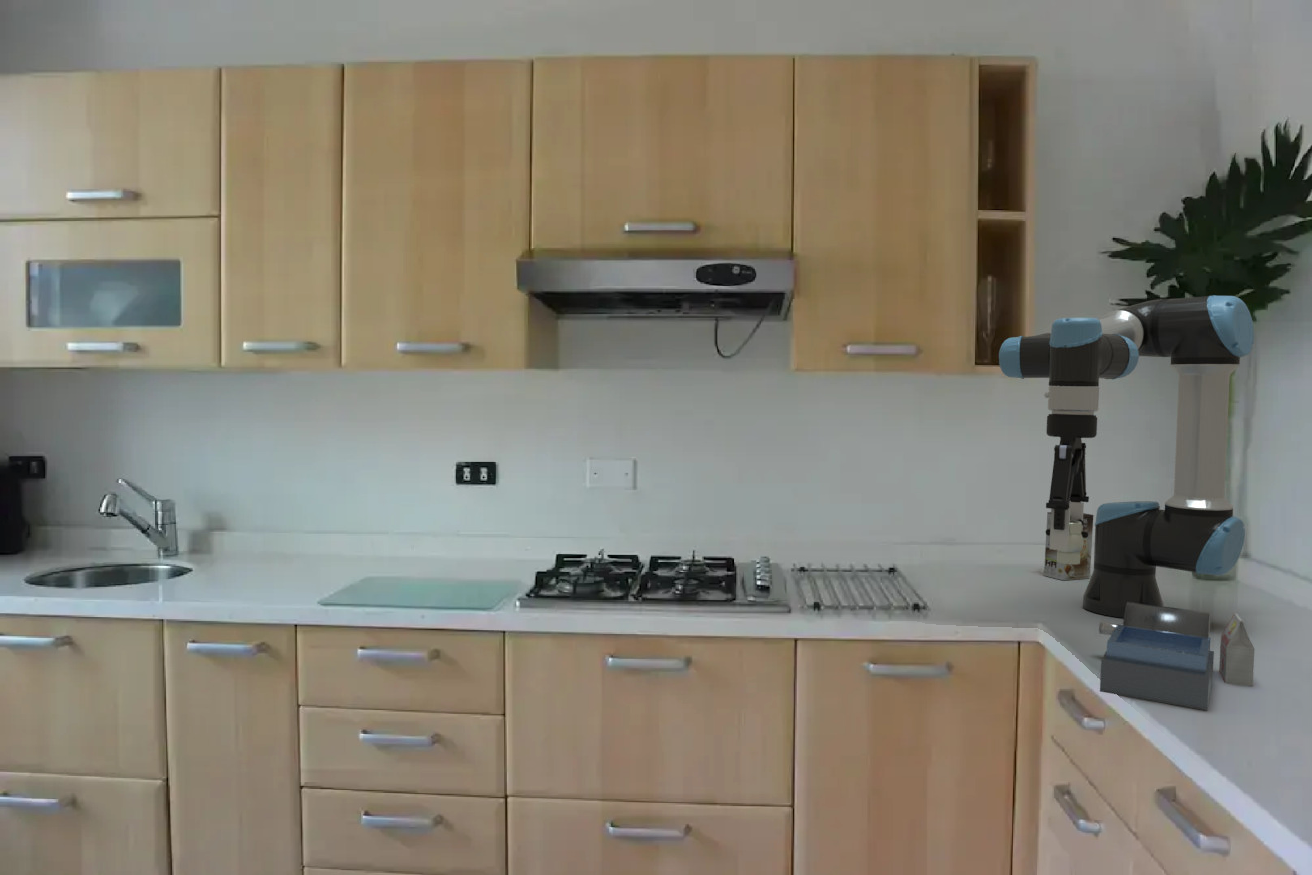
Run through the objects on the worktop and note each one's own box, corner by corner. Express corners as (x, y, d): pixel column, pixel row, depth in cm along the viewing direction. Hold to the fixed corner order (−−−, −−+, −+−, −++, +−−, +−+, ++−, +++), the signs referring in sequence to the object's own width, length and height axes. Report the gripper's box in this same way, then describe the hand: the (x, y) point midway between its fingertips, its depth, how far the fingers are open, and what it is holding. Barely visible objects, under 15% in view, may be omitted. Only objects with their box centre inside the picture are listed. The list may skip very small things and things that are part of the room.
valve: (1091, 566, 145) (1087, 553, 156) (1093, 524, 144) (1088, 514, 155) (1046, 562, 147) (1044, 550, 158) (1047, 521, 147) (1046, 512, 158)
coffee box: (1063, 581, 224) (1066, 515, 224) (1043, 576, 230) (1045, 512, 230) (1091, 578, 228) (1094, 514, 227) (1070, 573, 234) (1073, 511, 233)
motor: (1102, 649, 163) (1105, 593, 163) (1214, 667, 154) (1218, 608, 153) (1078, 687, 141) (1081, 623, 141) (1207, 710, 132) (1210, 641, 132)
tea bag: (1245, 674, 150) (1248, 614, 150) (1252, 686, 144) (1256, 623, 144) (1219, 671, 152) (1222, 611, 151) (1225, 682, 146) (1228, 620, 145)
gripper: (1061, 411, 163) (1056, 533, 164) (1031, 413, 143) (1026, 551, 144) (1108, 413, 159) (1102, 538, 160) (1084, 414, 139) (1078, 557, 140)
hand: (1066, 545), depth 152 cm, fingers closed on valve, 12 cm apart
